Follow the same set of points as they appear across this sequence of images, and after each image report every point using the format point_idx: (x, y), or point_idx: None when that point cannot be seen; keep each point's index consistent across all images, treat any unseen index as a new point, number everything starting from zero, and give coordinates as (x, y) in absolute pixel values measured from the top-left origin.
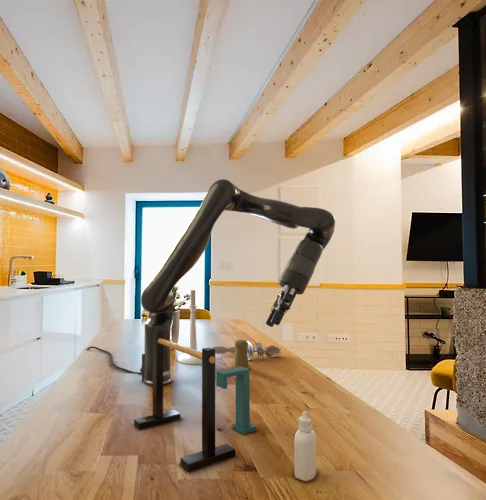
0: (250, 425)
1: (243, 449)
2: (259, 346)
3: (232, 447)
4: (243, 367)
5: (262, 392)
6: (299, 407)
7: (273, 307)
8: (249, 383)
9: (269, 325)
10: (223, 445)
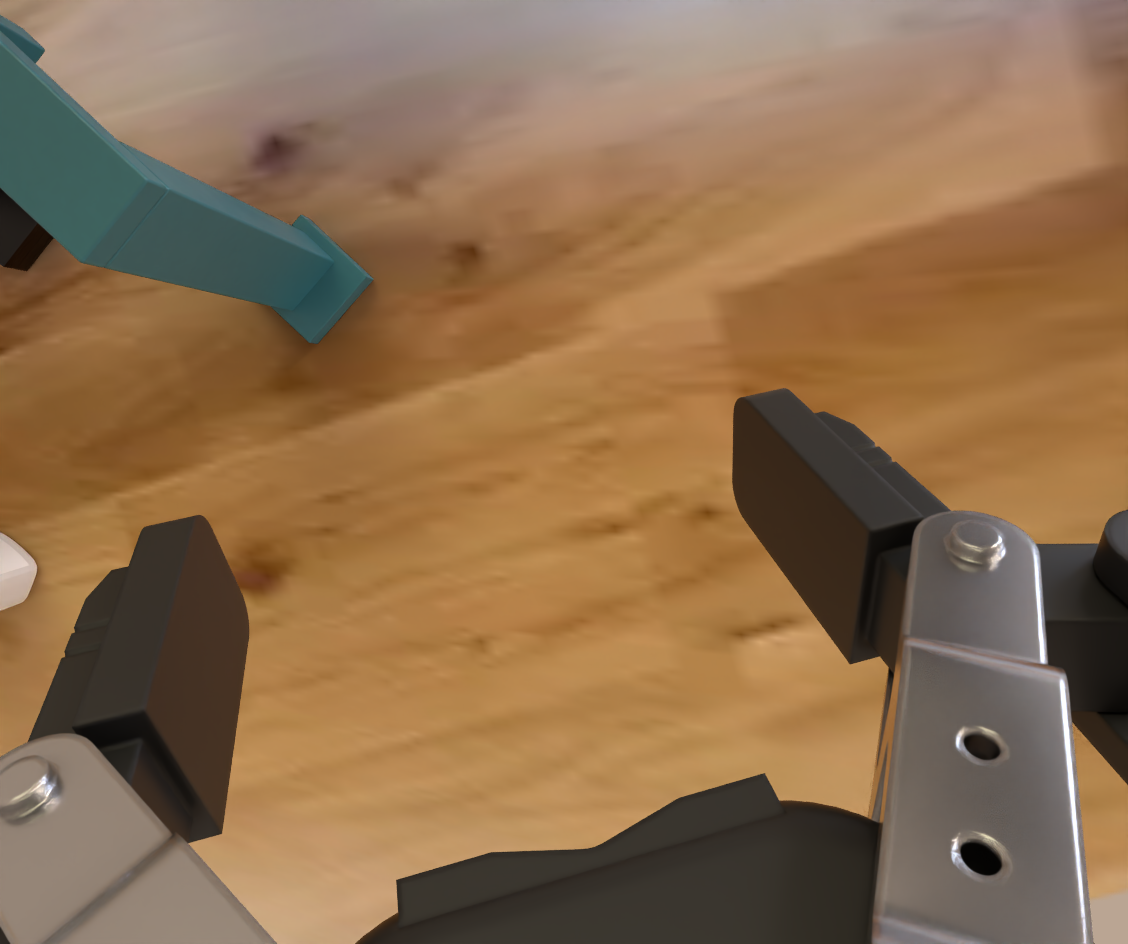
0: (312, 313)
1: (102, 299)
2: None
3: (11, 250)
4: (115, 202)
5: (953, 349)
6: (721, 583)
7: (914, 620)
8: (155, 279)
9: (734, 455)
10: (16, 204)
